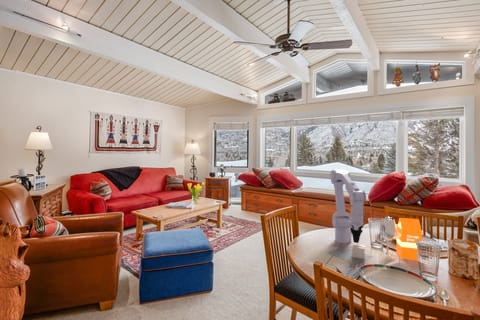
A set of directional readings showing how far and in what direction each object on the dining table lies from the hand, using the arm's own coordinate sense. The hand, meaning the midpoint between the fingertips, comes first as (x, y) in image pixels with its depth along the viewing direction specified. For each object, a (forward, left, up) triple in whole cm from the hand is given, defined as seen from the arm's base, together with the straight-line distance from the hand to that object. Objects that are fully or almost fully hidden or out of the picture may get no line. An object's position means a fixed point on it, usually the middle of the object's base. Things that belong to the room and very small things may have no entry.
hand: (356, 240), depth 123 cm
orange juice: (-24, +14, -9) cm, 29 cm away
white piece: (0, +1, -8) cm, 8 cm away
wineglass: (-15, +8, -9) cm, 19 cm away
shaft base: (+3, -2, -9) cm, 10 cm away
